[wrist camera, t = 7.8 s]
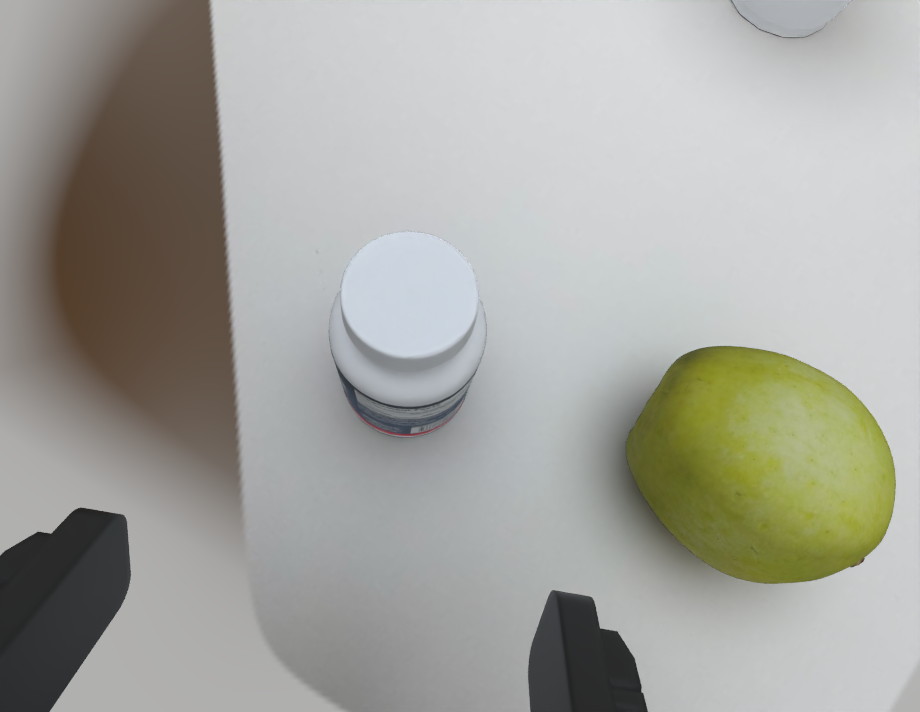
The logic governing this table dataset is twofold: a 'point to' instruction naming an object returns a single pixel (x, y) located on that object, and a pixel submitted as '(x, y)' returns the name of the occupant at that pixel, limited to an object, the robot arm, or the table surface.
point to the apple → (763, 465)
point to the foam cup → (790, 15)
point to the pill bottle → (407, 332)
